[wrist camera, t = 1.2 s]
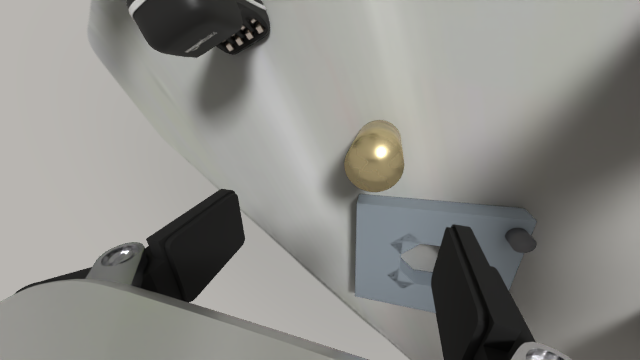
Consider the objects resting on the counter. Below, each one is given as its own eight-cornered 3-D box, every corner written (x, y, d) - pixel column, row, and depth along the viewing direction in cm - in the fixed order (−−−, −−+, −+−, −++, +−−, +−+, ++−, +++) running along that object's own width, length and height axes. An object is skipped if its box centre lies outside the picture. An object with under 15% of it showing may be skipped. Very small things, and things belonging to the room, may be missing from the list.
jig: (524, 208, 25) (545, 230, 22) (487, 308, 32) (499, 337, 28) (359, 193, 30) (355, 209, 27) (357, 282, 37) (353, 304, 33)
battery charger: (232, 65, 28) (142, 59, 18) (217, 31, 27) (112, 5, 17) (279, 37, 25) (205, 13, 15) (265, -1, 24) (173, -55, 14)
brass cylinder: (403, 120, 25) (407, 138, 18) (398, 163, 27) (401, 194, 20) (357, 120, 26) (344, 136, 19) (356, 161, 28) (344, 189, 21)
